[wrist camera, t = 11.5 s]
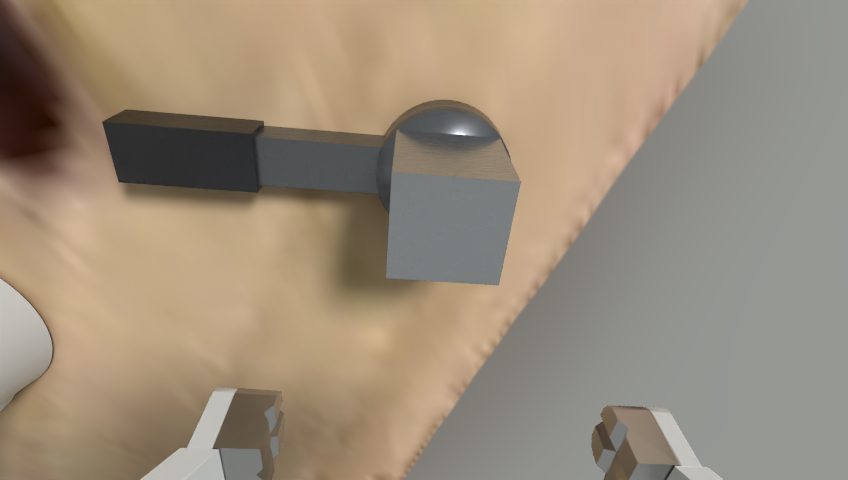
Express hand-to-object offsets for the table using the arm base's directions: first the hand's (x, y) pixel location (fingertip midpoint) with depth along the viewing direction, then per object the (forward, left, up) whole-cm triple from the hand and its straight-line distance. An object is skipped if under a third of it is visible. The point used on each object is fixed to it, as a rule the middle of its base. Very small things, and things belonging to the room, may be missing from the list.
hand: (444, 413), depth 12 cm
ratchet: (-6, -1, -20) cm, 21 cm away
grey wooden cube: (+1, -1, -17) cm, 17 cm away
